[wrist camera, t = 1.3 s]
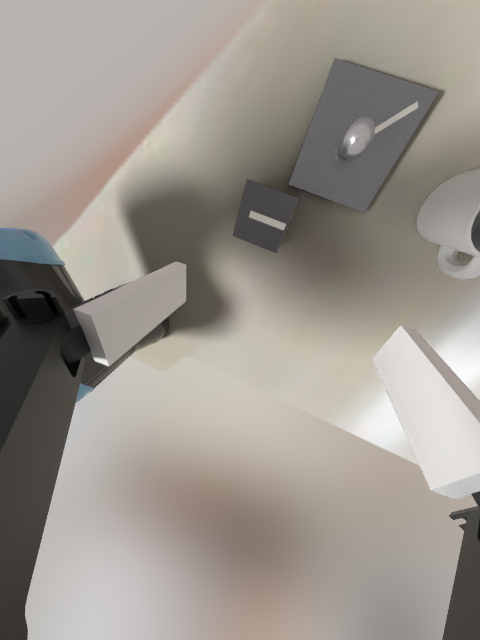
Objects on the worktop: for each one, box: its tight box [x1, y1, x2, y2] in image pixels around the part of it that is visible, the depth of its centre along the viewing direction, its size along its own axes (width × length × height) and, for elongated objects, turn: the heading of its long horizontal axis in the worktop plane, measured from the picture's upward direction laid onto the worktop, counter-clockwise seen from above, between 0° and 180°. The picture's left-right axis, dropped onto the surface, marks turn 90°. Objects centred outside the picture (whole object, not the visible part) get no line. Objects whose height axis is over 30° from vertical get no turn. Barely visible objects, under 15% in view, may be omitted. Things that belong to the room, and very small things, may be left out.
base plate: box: [289, 58, 439, 213], centre depth 19 cm, size 10×10×4 cm
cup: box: [416, 168, 480, 280], centre depth 18 cm, size 7×10×9 cm
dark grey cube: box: [233, 179, 299, 253], centre depth 24 cm, size 6×6×6 cm
